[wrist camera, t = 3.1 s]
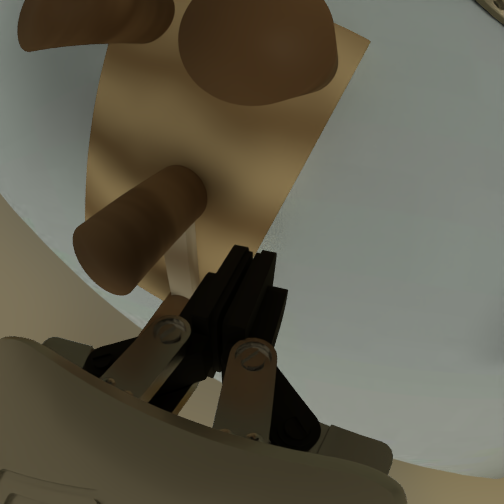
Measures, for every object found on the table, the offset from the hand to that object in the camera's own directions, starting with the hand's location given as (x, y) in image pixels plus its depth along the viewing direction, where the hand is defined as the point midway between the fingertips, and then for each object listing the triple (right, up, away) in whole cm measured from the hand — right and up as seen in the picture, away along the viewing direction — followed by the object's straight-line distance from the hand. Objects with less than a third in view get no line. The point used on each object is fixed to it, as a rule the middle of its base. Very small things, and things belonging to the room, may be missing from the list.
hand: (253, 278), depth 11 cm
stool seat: (-5, +7, +6) cm, 10 cm away
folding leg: (-5, +1, +7) cm, 9 cm away
